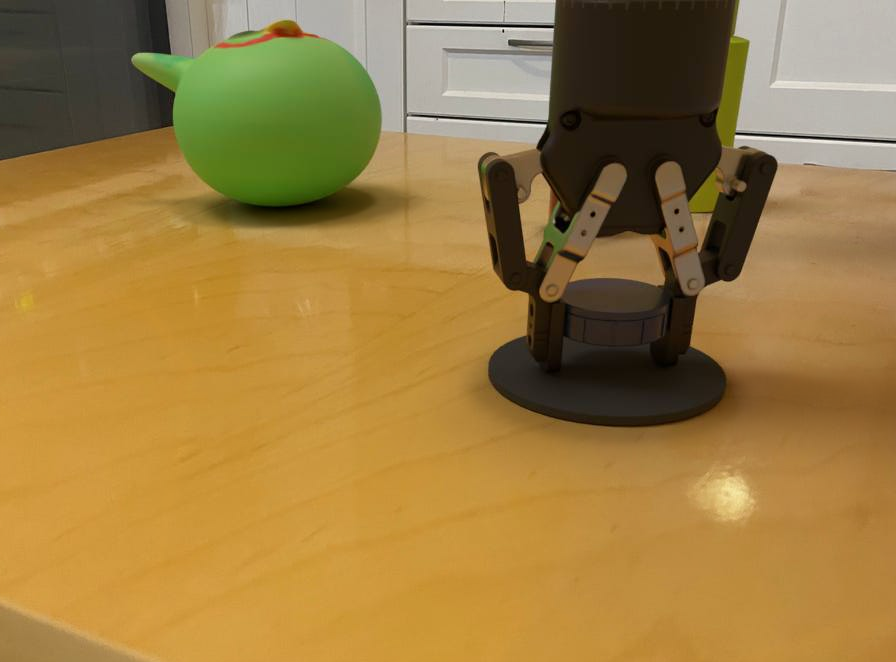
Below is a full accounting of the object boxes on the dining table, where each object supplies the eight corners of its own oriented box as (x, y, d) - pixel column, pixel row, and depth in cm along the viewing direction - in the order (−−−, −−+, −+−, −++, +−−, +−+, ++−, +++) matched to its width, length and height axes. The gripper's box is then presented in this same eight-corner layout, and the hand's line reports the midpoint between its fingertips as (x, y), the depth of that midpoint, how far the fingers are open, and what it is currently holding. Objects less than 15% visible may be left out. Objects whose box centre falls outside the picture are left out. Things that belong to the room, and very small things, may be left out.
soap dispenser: (747, 207, 82) (792, -60, 72) (684, 215, 79) (722, -61, 69) (702, 194, 86) (738, -59, 76) (641, 201, 84) (670, -59, 74)
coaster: (672, 331, 54) (673, 322, 54) (767, 417, 44) (769, 408, 44) (468, 341, 53) (468, 332, 53) (517, 433, 43) (518, 423, 42)
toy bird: (259, 237, 73) (242, 26, 66) (141, 203, 83) (114, 18, 76) (419, 200, 84) (419, 16, 77) (298, 174, 94) (288, 10, 87)
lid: (570, 350, 45) (573, 316, 44) (540, 312, 49) (542, 280, 49) (684, 343, 45) (688, 309, 44) (643, 306, 50) (647, 275, 49)
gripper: (498, -6, 36) (483, 402, 44) (851, -9, 37) (772, 385, 46) (462, -11, 42) (455, 345, 51) (765, -13, 44) (709, 332, 52)
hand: (606, 362), depth 48 cm, fingers closed on lid, 5 cm apart
